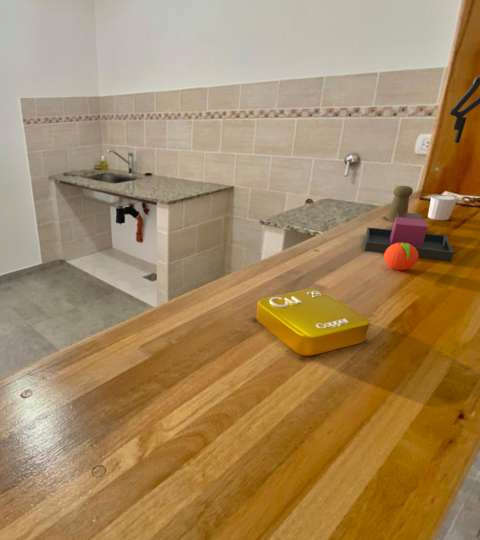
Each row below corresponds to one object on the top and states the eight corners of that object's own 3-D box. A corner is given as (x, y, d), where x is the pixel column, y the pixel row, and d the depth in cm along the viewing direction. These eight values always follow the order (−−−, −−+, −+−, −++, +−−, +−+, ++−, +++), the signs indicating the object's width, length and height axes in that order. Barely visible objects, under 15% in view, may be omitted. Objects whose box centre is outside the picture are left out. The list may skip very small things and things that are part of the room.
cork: (385, 214, 136) (393, 184, 132) (406, 216, 133) (414, 185, 129) (386, 219, 132) (393, 187, 127) (407, 221, 129) (416, 188, 124)
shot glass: (431, 220, 128) (437, 200, 125) (421, 214, 134) (427, 195, 131) (455, 220, 126) (462, 200, 124) (444, 214, 132) (450, 195, 130)
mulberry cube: (420, 251, 104) (427, 226, 101) (390, 247, 108) (396, 223, 105) (418, 242, 110) (425, 219, 107) (389, 239, 113) (395, 216, 110)
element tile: (302, 359, 67) (306, 336, 65) (251, 317, 80) (253, 297, 78) (370, 341, 70) (376, 319, 68) (311, 303, 83) (314, 284, 81)
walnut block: (416, 229, 121) (420, 213, 119) (417, 234, 117) (422, 219, 115) (393, 226, 124) (397, 212, 122) (394, 232, 120) (398, 217, 118)
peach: (420, 277, 92) (428, 250, 89) (386, 275, 94) (393, 248, 91) (409, 264, 98) (416, 238, 96) (378, 262, 101) (384, 237, 98)
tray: (443, 243, 110) (446, 235, 109) (450, 261, 99) (453, 252, 98) (365, 235, 119) (367, 227, 118) (364, 250, 108) (366, 242, 107)
